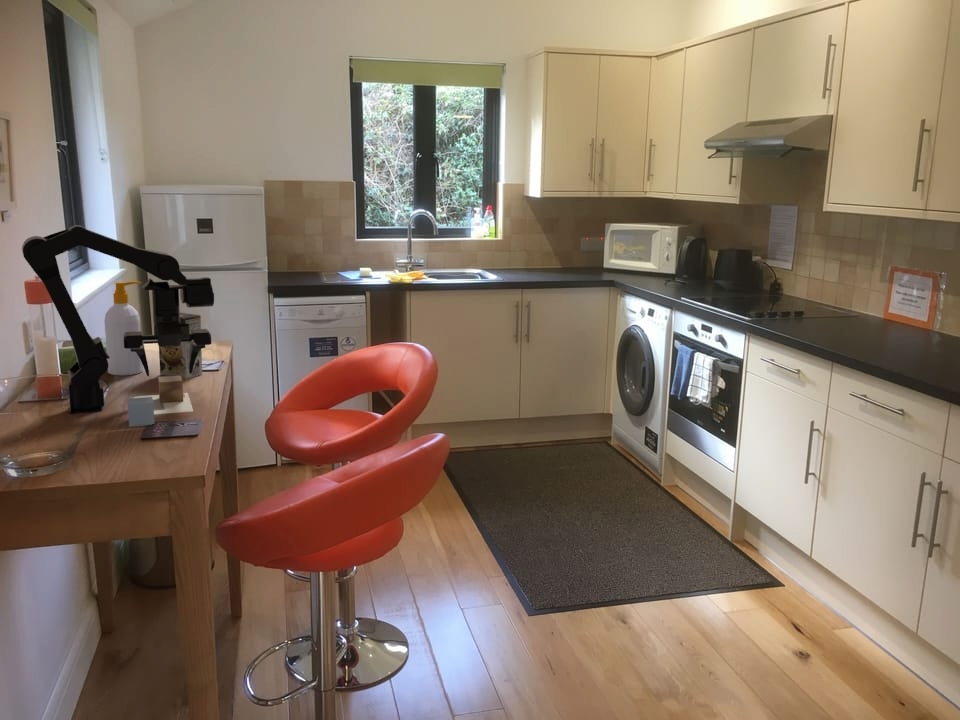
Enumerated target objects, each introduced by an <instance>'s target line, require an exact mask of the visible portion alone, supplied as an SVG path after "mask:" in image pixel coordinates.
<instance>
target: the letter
mask: <svg viewBox="0 0 960 720" xmlns="http://www.w3.org/2000/svg"><path fill="white" fill-rule="evenodd" d="M144 397H152V399H153V407H154V415H163V414H164V415H165V414H177V413H188V412H190V413H191V412H194V409H193V406H192V402H191V399H190V395H189V392H183V401H182V402H169V403H160V398H159V394H151V395H139V396H133V398H144Z"/></svg>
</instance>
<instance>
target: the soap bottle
mask: <svg viewBox="0 0 960 720" xmlns="http://www.w3.org/2000/svg"><path fill="white" fill-rule="evenodd" d="M114 284H115V290H114V293H113V294H112V295H113V305H111V306H110V307H109V308H108V310H107V311H106V312H105V316H104V320H103V321H104V333H105V335H104V336H105V345H106V346H105V347H106V350H105V351H106V352H107V354H108V355H109V357H110V358H109V359H107V358H106V359H107V361H108V369H107V373H108V374H110V375H113V376H121V377H122V376H133V375H137V374H140V373H142V372H143V370H144V367H143V364H142V362H141V360H140V358H139V356H138V355H137V353H136V352H131V350H130V348H129V349H126V348H124V338H123V335H124V333H125V332H142V331H141V317H140V314H139V311H137V309H135V307H134V306H132V305H130V304H129V294H128V293H127V290H126V289H125V286H128V285H129V286H130V285H136V284H137V285H138V284H139V285H141V284H142V282H141V281H137V280H136V281H135V280H133V281H115V282H114Z"/></svg>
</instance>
